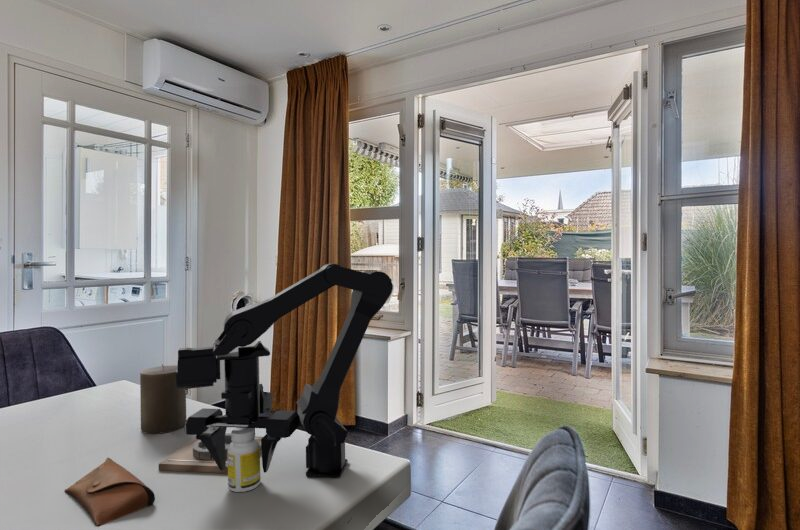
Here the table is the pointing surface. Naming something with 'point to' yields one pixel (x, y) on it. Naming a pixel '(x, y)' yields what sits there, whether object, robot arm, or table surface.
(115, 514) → the sunglasses case
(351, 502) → the table surface
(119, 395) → the table surface
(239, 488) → the supplement bottle
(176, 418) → the pillar candle
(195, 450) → the brown board with ring
